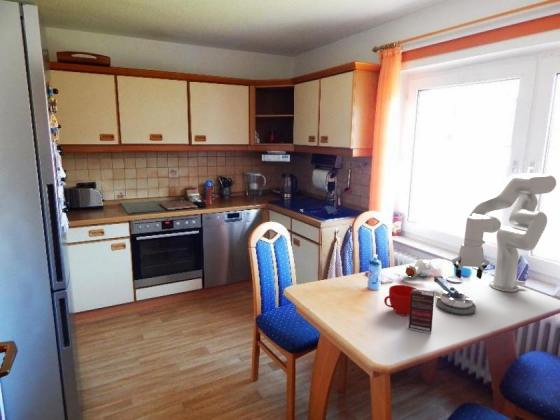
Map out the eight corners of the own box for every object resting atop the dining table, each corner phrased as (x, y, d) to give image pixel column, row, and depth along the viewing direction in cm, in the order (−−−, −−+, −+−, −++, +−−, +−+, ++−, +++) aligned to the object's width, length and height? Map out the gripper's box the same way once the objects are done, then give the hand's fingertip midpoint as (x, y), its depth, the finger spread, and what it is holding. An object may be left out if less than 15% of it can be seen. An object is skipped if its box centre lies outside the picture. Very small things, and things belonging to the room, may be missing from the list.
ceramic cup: (374, 310, 165) (375, 288, 163) (404, 303, 171) (405, 283, 169) (393, 323, 153) (395, 300, 151) (425, 315, 160) (427, 294, 158)
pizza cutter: (450, 284, 188) (451, 275, 187) (477, 309, 161) (479, 298, 160) (424, 284, 188) (425, 274, 187) (447, 309, 161) (448, 298, 160)
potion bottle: (432, 277, 208) (411, 284, 202) (421, 263, 213) (400, 270, 208) (439, 267, 201) (418, 274, 195) (428, 253, 207) (407, 260, 201)
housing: (465, 299, 175) (465, 295, 175) (482, 315, 159) (483, 311, 159) (431, 299, 175) (431, 295, 175) (445, 315, 160) (445, 310, 159)
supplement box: (431, 328, 149) (435, 291, 146) (431, 334, 144) (434, 296, 141) (409, 324, 152) (411, 287, 149) (407, 329, 148) (410, 292, 145)
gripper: (487, 241, 177) (482, 275, 180) (450, 240, 178) (446, 274, 181) (495, 245, 170) (490, 281, 173) (458, 244, 170) (453, 279, 173)
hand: (468, 277), depth 177 cm, fingers open, 9 cm apart
